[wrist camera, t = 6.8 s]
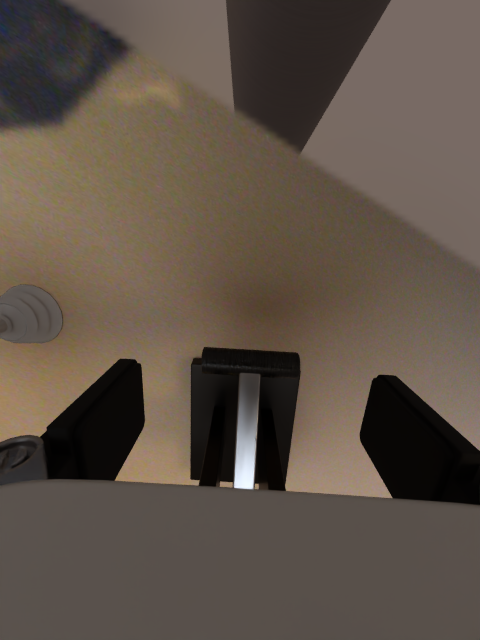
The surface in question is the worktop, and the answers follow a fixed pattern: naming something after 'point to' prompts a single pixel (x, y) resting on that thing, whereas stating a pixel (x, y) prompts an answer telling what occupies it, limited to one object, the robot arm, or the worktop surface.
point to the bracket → (220, 428)
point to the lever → (248, 396)
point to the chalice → (29, 315)
